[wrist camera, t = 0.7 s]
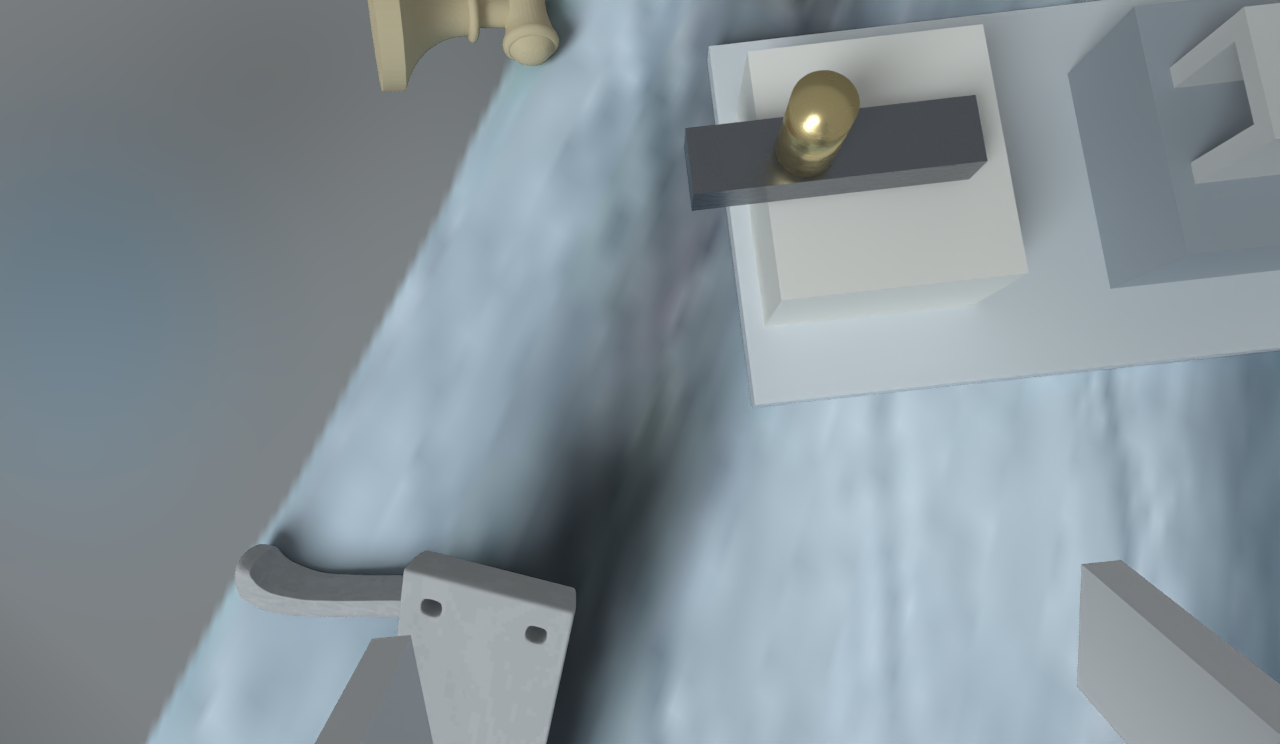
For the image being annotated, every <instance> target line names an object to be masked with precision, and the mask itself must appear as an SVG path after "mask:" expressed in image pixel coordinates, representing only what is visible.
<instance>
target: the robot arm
mask: <svg viewBox="0 0 1280 744" xmlns="http://www.w3.org/2000/svg"><path fill="white" fill-rule="evenodd" d="M1077 688H1078V689H1079V690H1080V691H1081V692H1082V693H1083V694H1084V696H1085V697H1086V698H1087V699H1088V700H1089V701H1090V702H1091V704H1092V705H1093V706H1094V707H1095V708H1096V709H1097V710H1098V711H1099V713H1100V714H1101V715H1102V716H1103V717H1104V718H1105V719H1106V721H1107V722H1108V723H1109V724H1110V725H1111V726H1112V727H1113V729H1114V730H1115V731H1116V732H1117V733H1118V734H1119V735H1120V737H1121V738H1122V739H1123V740H1124V741H1125V742H1126V743H1127V744H1280V684H1279V683H1277V682H1276V681H1275V680H1274V679H1272V678H1271V677H1270V676H1268V675H1267V674H1266V673H1265V672H1263V671H1262V670H1261V669H1260V668H1258V667H1257V666H1256V665H1254V664H1253V663H1252V662H1251V661H1249V660H1248V659H1247V658H1245V657H1244V656H1243V655H1242V654H1240V653H1239V652H1238V651H1237V650H1235V649H1234V648H1233V647H1231V646H1230V645H1229V644H1228V643H1226V642H1225V641H1224V640H1222V639H1221V638H1220V637H1219V636H1217V635H1216V634H1215V633H1214V632H1212V631H1211V630H1210V629H1208V628H1207V627H1206V626H1205V625H1203V624H1202V623H1201V622H1199V621H1198V620H1197V619H1196V618H1194V617H1193V616H1192V615H1191V614H1189V613H1188V612H1187V611H1185V610H1184V609H1183V608H1182V607H1180V606H1179V605H1178V604H1176V603H1175V602H1174V601H1173V600H1171V599H1170V598H1169V597H1168V596H1166V595H1165V594H1164V593H1162V592H1161V591H1160V590H1159V589H1157V588H1156V587H1155V586H1153V585H1152V584H1151V583H1150V582H1148V581H1147V580H1146V579H1145V578H1143V577H1142V576H1141V575H1139V574H1138V573H1137V572H1136V571H1134V570H1133V569H1132V568H1130V567H1129V566H1128V565H1127V564H1125V563H1124V562H1123V561H1122V560H1118V561H1108V562H1099V563H1089V564H1082V565H1081V591H1080V618H1079V645H1078V672H1077ZM315 744H433V740H432V735H431V730H430V726H429V721H428V716H427V711H426V706H425V701H424V696H423V692H422V687H421V682H420V677H419V672H418V667H417V662H416V658H415V653H414V648H413V643H412V638H411V635H406V636H396V637H387V638H377V639H372V640H371V642H370V644H369V646H368V647H367V649H366V651H365V653H364V655H363V657H362V658H361V660H360V662H359V664H358V666H357V668H356V669H355V671H354V673H353V675H352V677H351V679H350V680H349V682H348V684H347V686H346V688H345V689H344V691H343V693H342V695H341V697H340V699H339V700H338V702H337V704H336V706H335V708H334V710H333V711H332V713H331V715H330V717H329V719H328V721H327V722H326V724H325V726H324V728H323V730H322V731H321V733H320V735H319V737H318V739H317V741H316V742H315Z"/></svg>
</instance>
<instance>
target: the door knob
mask: <svg viewBox="0 0 1280 744" xmlns="http://www.w3.org/2000/svg"><path fill="white" fill-rule="evenodd" d="M368 5H369V13H370V20H371V28H372V34H373V41H374V49H375V55H376V61H377V67H378V73H379V79H380V84H381V88H382V91H383V92H391V91H405V90H406V88H407V84H408V81H409V77H410V75H411V73H412V71H413V69H414V67H415V65H416V63H417V62H418V61H419V59H420V58H421V57H422V56H423V55H424V54H425V53H426V52H427V51H428V50H429V49H431V48H432V47H433V46H435V45H436V44H438V43H440V42H442V41H444V40H447V39H450V38H454V37H460V36H467V39H468V40H469V41H470V42H471V43H475V42H476V41H477V40H478V37H479V31H480V28H505V37H504V39H503V49H504V52H505V53H506V55H507V56H508V57H510V58H511V59H513V60H515V61H518V62H519V63H521V64H523V65H527V66H536V65H540V64H542V63H544V62H545V61H546V60H547V59H548V58H549V57H550V56H551V55H552V54H553V53H554V52H555V51H556V50H557V48H558V45H559V37H558V34H557V32H556V31H555V30H554V29H553V27H552V25H551V23H550V20H549V18H548V14H547V11H546V5H545V0H368Z"/></svg>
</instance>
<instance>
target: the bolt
mask: <svg viewBox="0 0 1280 744" xmlns="http://www.w3.org/2000/svg"><path fill="white" fill-rule="evenodd" d="M859 107H860V99H859V94H858V92H857V89H856V88H855V86H854V85H853V83H852V82H851V81H850V80H849V79H848V78H847V77H845V76H844V75H842V74H840V73H838V72H834V71H830V70H819V71H814V72H811V73H809V74H807V75H805V76H804V77H802V78H801V79H800V80H799V81H798V82H797V84H796V85H795V86H794V88H793V90H792V93H791V96H790V99H789V102H788V105H787V109H786V112H785V115H784V117H779V118H770V119H761V120H753V121H744V122H735V123H727V124H718V125H709V126H701V127H692V128H685V143H684V151H685V159H686V167H687V175H688V184H689V192H690V200H691V208H692V211H694V210H703V209H712V208H721V207H729V206H738V205H747V204H756V203H765V202H773V201H782V200H791V199H800V198H809V197H817V196H826V195H835V194H844V193H853V192H862V191H870V190H879V189H888V188H897V187H906V186H914V185H923V184H932V183H941V182H950V181H958V180H967V179H970V178H971V177H972V176H973V175H974V174H975V173H976V172H977V171H978V170H979V169H980V168H981V167H982V166H983V165H984V164H985V163H986V162H987V161H988V160H987V155H986V149H985V144H984V138H983V132H982V127H981V121H980V116H979V110H978V105H977V99H976V95H969V96H961V97H952V98H943V99H935V100H926V101H917V102H909V103H900V104H891V105H883V106H874V107H865V108H859Z"/></svg>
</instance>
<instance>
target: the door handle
mask: <svg viewBox="0 0 1280 744" xmlns="http://www.w3.org/2000/svg"><path fill="white" fill-rule="evenodd" d="M235 582H236V587H237V590H238V593H239V596H240V597H241V598H242V599H243V600H245V601H246V602H248V603H250V604H252V605H253V606H255V607H257V608H260V609H262V610H265V611H269V612H274V613H280V614H287V615H295V616H313V617H399V622H398V632H397V636H406V635H411V638H412V643H413V648H414V653H415V658H416V662H417V667H418V672H419V677H420V682H421V687H422V692H423V696H424V701H425V706H426V711H427V716H428V721H429V726H430V730H431V735H432V740H433V744H547V740H548V735H549V730H550V726H551V721H552V716H553V712H554V707H555V703H556V698H557V693H558V689H559V684H560V680H561V675H562V670H563V666H564V661H565V656H566V652H567V647H568V643H569V638H570V633H571V629H572V624H573V619H574V615H575V610H576V591H575V589H574V588H572V587H569V586H565V585H561V584H557V583H553V582H549V581H545V580H541V579H537V578H533V577H529V576H525V575H521V574H517V573H514V572H510V571H506V570H502V569H498V568H494V567H490V566H486V565H482V564H478V563H474V562H470V561H466V560H462V559H459V558H455V557H451V556H447V555H443V554H439V553H435V552H431V551H424V552H422V553H421V554H419V555H418V556H417V557H415V558H414V559H413V560H412V561H411V562H410V563H409V564H408V565H407V566H406V568H405V569H404V574H403V575H349V574H331V573H323V572H318V571H315V570H312V569H309V568H306V567H303V566H301V565H299V564H296V563H294V562H292V561H291V560H289V559H288V558H287V557H286V556H285V555H283V554H282V553H281V551H280V550H279V549H278V548H277V547H275V546H271V545H266V544H259V545H256V546H254V547H252V548H251V549H249V550H248V551H247V552H246V553H245V554H244V555H243V556H242V557H241V558H240V560H239V561H238V563H237V566H236V569H235Z"/></svg>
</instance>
